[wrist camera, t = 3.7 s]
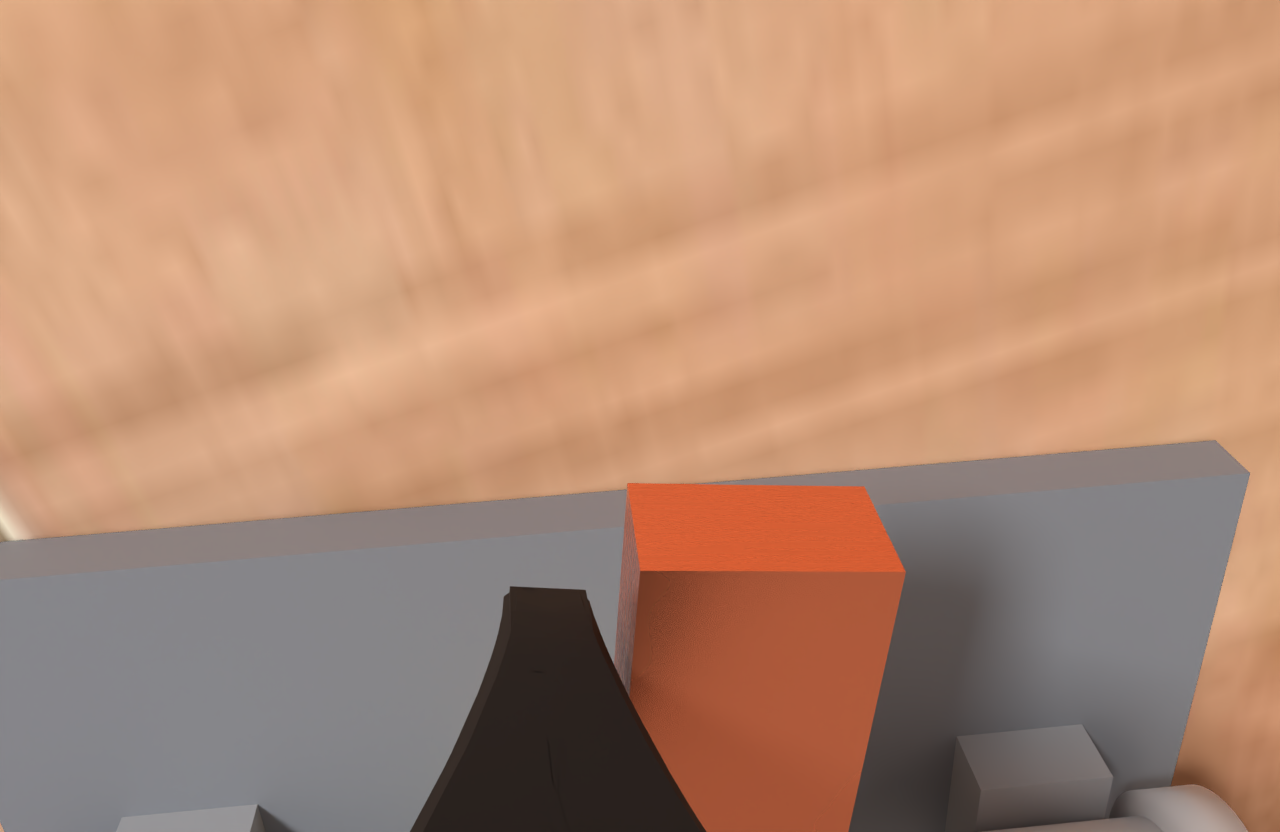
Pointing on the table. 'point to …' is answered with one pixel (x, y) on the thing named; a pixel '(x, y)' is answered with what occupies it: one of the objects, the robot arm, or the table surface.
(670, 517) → the valve lever
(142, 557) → the valve board
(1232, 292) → the table surface
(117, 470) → the table surface
